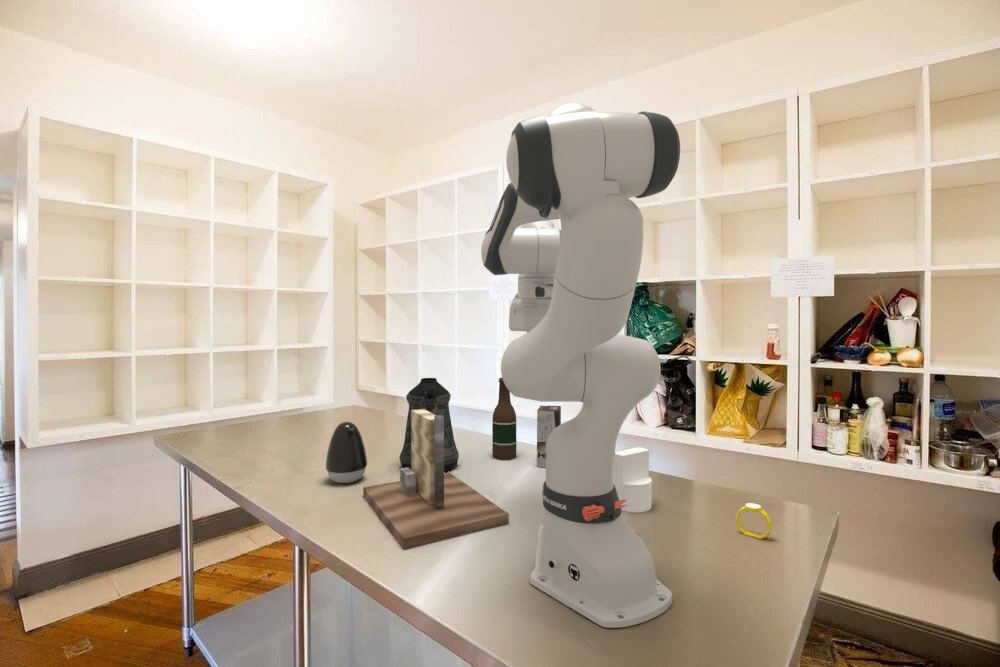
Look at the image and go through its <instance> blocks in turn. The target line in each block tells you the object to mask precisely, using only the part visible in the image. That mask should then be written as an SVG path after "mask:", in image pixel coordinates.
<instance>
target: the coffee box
mask: <svg viewBox="0 0 1000 667" xmlns="http://www.w3.org/2000/svg"><path fill="white" fill-rule="evenodd" d="M536 412H537V414H536V467H537V468H546V441H547V438H548V436H549V434H550V433H551V432H552V431H553V430H554V429H555V428H556V427H558V426H559V425H561V424H562V417H561V416H562V406H561V405H540V406H539V407H538V409H537V410H536Z"/></svg>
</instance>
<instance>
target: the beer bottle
mask: <svg viewBox="0 0 1000 667" xmlns="http://www.w3.org/2000/svg"><path fill="white" fill-rule="evenodd" d="M498 382H499V387H498V400H497V405H496V406H495V408H494V409H493V413H492V422H491V423H492V424H491V425H492V426H491V428H492V430H491V431H492V433H491V434H492V443H491V444H492V445H491V446H492V451H491V453H492V458H493V459H495V458H496V459H495V460H498V459H499V460H498V461H510V459H511V460H514V459H516V458H517V413H516V410H515V408H514V406H513V405H512V403H511V393H510V391H509V390H508V389H507V387H506V386H505V384H504V381H503V378H502V377H499V378H498ZM513 458H514V459H513Z"/></svg>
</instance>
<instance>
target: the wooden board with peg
mask: <svg viewBox="0 0 1000 667" xmlns="http://www.w3.org/2000/svg"><path fill="white" fill-rule="evenodd" d="M362 488H363V489H362V493H363V494H362V496H363V495H364V496H363V497H364V499H365V498H366V499H365V500H366V501H367V502H369V503H368V504H369V505H370V507H371V506H372V507H373V508H372V507H371V508H372V509H373V511H374V510H375V511H374V512H375V513H376V515H377V514H378V515H377V516H378V517H379V519H380V520H381V521H382V522H383V524H384V525H385V526H386V527H388V528H387V529H388V530H389V531H390V533H391V535H393V537H394V538H395V539H396V541H397V542H398V543H399V545H400V546H401V547H402V549H403V550H407V549H412V548H417V547H419V546H423V545H422V544H424V545H428V544H431V543H430V542H432V543H435V541H436V542H439V540H440V541H443V540H442V539H444V540H447V539H446V538H448V539H451V538H450V537H452V538H454V537H453V536H456V537H459V536H458V535H460V536H463V535H462V534H464V535H466V534H465V533H468V534H471V533H470V532H472V533H475V532H474V531H476V532H479V531H478V530H480V531H483V530H482V529H484V530H487V529H486V528H488V529H492V528H496V527H500V526H503V525H508V524H509V522H510V517H509V513H508V512H507V511H506V510H504V509H503V508H501V507H500V506H498V505H497V504H495V503H494V502H492V501H491V500H490V499H488V498H487V497H486V496H484V495H482V494H481V493H479V491H476V489H474V488H473V487H472V486H469V485H468V484H467V483H466V482H464V481H463V480H462V479H460V478H458V477H456V476H455V475H453V474H452V473H450V472H447V473H444V507H442V508H436V507H435V504H432V505H430V504H429V503H428V502H427V501H426V500H425V499H424V498H423V497H422V496H421V495H420V494H419V493H418V492H417V491H416V473H415V472H413V471H412V470H411V469H410V468H408V467H407V468H402V467H401V468H399V480H396V481H391V482H385V483H379V484H375V485H369V486H368V485H367V486H363V487H362ZM491 527H492V528H491ZM427 543H428V544H427Z"/></svg>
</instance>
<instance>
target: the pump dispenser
mask: <svg viewBox="0 0 1000 667" xmlns="http://www.w3.org/2000/svg"><path fill="white" fill-rule="evenodd" d="M327 448H328V449H327V451H326V452H327V453H326V459H325V470H326V471H327V475H328V477H329V478H330V480H332V481H333V482H335V483H337V484H342V483H346V484H351V482H352V483H354V481H355V482H356V481H358V480H360V479H361V478H362V476H364V474H365V472H366V468H367V466H368V456H367V450H366V447H365V443H364V438H363V437H362V434H361V432H360V430H359V428H358V427H357V425H356V424H355V423H354V422H351V421H343V422H340V423H339V424H338V425H337V426H336V427H335V429H334V431H333V433H332V435H331V438H330V440H329V444H328V447H327Z"/></svg>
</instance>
